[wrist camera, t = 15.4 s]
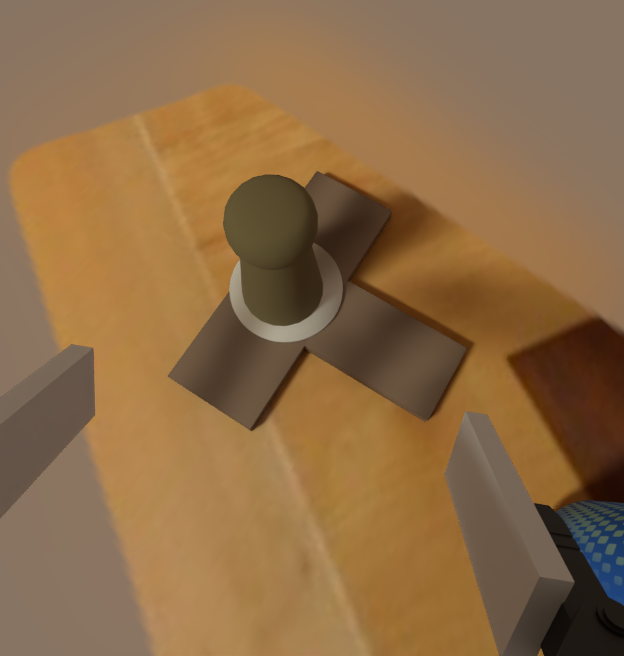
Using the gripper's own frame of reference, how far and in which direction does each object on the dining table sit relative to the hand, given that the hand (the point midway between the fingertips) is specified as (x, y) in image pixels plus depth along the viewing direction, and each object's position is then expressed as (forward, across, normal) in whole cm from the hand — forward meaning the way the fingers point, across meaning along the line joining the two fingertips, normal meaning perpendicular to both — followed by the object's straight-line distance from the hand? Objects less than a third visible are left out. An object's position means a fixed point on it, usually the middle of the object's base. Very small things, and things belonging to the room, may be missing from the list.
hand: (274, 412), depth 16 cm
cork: (+19, -2, -2) cm, 19 cm away
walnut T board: (+19, +3, -4) cm, 19 cm away
